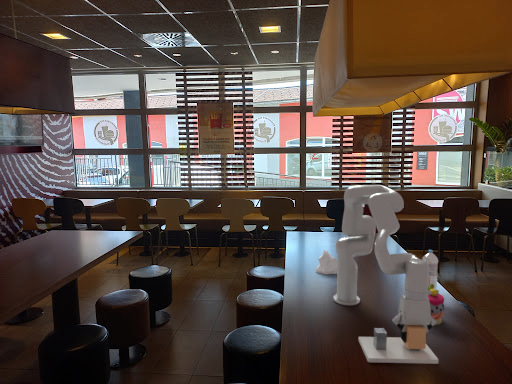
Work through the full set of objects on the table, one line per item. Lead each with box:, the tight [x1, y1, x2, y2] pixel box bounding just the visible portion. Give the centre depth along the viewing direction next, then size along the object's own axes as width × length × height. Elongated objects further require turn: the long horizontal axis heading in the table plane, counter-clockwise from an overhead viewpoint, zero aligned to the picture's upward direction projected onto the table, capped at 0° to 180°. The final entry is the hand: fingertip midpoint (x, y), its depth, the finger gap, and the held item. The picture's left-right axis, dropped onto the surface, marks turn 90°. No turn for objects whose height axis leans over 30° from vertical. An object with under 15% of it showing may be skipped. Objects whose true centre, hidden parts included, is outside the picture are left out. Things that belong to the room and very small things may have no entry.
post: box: [373, 327, 388, 350], centre depth 129 cm, size 4×4×8 cm
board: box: [358, 336, 440, 365], centre depth 129 cm, size 14×24×2 cm, turn 87°
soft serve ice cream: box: [315, 249, 337, 275], centre depth 210 cm, size 12×15×14 cm
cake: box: [428, 284, 445, 326], centre depth 152 cm, size 10×11×15 cm
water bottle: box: [421, 249, 439, 290], centre depth 170 cm, size 7×7×25 cm
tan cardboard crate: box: [402, 325, 427, 349], centre depth 128 cm, size 6×6×8 cm
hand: (413, 340), depth 128 cm, fingers closed on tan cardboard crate, 6 cm apart
